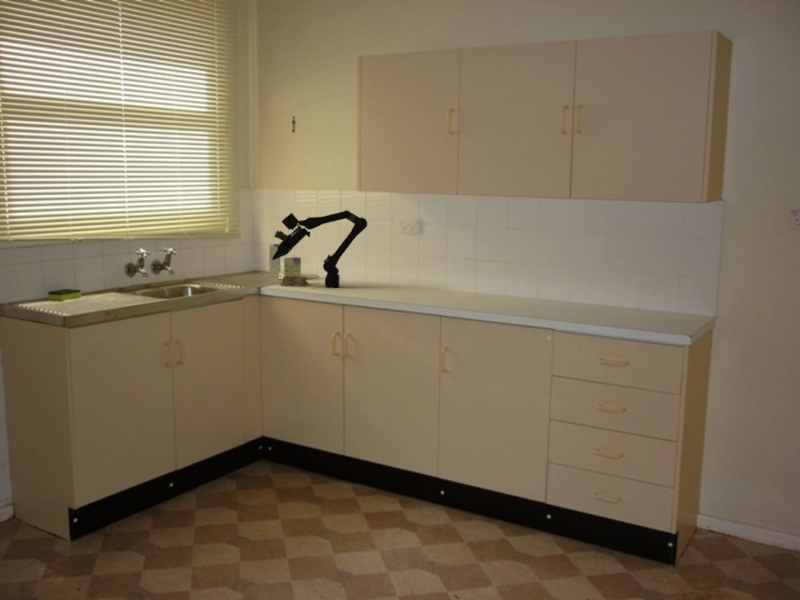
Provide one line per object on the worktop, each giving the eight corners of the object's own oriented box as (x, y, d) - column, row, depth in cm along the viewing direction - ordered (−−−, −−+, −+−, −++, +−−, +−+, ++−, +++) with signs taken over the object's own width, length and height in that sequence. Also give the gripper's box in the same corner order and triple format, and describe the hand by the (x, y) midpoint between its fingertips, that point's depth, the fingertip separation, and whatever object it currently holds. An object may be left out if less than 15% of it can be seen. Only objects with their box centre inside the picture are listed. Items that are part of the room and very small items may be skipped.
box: (295, 278, 428) (295, 256, 427) (300, 279, 424) (301, 257, 422) (278, 279, 422) (278, 257, 420) (283, 280, 418) (284, 258, 416)
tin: (280, 271, 400) (280, 244, 398) (279, 272, 395) (279, 244, 393) (270, 271, 400) (270, 243, 398) (269, 272, 395) (269, 244, 393)
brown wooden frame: (307, 283, 409) (308, 276, 409) (304, 286, 400) (304, 279, 399) (284, 282, 410) (284, 275, 410) (280, 285, 400) (280, 278, 400)
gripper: (286, 223, 403) (263, 245, 404) (282, 226, 385) (259, 248, 386) (301, 240, 405) (279, 261, 406) (298, 243, 386) (275, 265, 388)
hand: (273, 258), depth 396 cm, fingers closed on tin, 5 cm apart
